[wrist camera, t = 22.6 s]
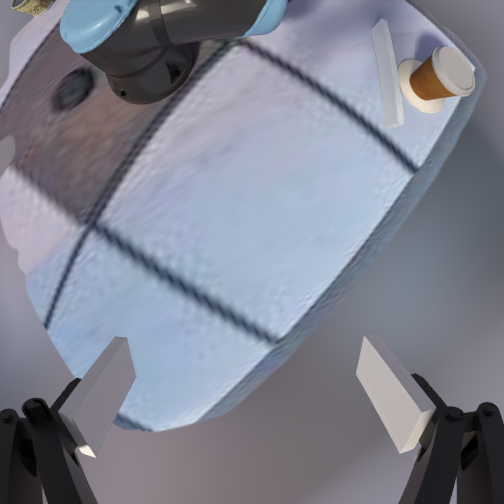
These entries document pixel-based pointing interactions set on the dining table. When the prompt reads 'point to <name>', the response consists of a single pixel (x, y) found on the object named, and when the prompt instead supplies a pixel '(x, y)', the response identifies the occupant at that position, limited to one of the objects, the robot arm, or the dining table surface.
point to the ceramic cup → (32, 6)
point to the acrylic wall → (388, 75)
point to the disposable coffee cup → (443, 75)
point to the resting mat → (404, 74)
